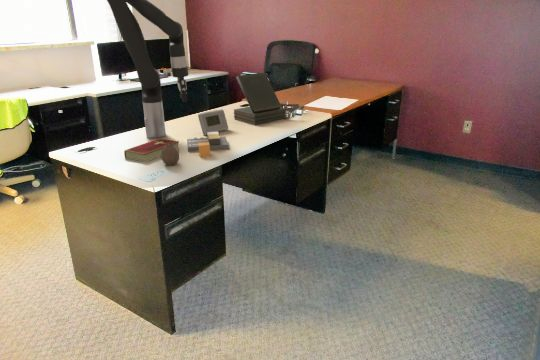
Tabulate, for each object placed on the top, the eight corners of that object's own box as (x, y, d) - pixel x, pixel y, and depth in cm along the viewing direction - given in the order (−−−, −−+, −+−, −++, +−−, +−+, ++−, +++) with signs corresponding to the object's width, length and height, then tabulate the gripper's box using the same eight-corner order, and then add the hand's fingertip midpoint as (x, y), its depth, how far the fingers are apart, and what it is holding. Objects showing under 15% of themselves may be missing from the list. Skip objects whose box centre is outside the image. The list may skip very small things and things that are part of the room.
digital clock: (203, 136, 208) (201, 115, 204) (195, 132, 215) (194, 112, 211) (232, 131, 216) (230, 110, 213) (223, 127, 224) (222, 108, 220)
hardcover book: (125, 159, 177) (123, 149, 176) (160, 146, 194) (159, 137, 193) (145, 163, 172) (144, 153, 170) (179, 149, 189) (178, 140, 187)
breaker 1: (218, 137, 197) (217, 131, 195) (219, 140, 192) (218, 134, 191) (207, 138, 196) (207, 132, 195) (208, 141, 191) (207, 134, 190)
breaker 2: (219, 141, 191) (219, 134, 190) (220, 144, 187) (220, 137, 185) (208, 141, 190) (208, 135, 189) (209, 144, 186) (208, 138, 185)
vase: (181, 161, 172) (179, 140, 169) (178, 166, 166) (176, 145, 163) (164, 161, 172) (161, 141, 169) (160, 167, 166) (158, 145, 162)
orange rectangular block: (199, 157, 177) (198, 145, 175) (199, 153, 181) (198, 142, 179) (210, 156, 178) (209, 144, 176) (209, 153, 182) (208, 142, 180)
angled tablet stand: (254, 126, 227) (253, 79, 218) (233, 120, 241) (231, 75, 232) (286, 119, 241) (285, 75, 232) (264, 114, 255) (263, 72, 246)
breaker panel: (187, 151, 184) (187, 146, 183) (187, 143, 197) (186, 137, 196) (228, 148, 187) (228, 143, 186) (225, 140, 200) (225, 135, 199)
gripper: (170, 65, 204) (175, 98, 210) (172, 68, 191) (177, 103, 198) (185, 64, 206) (190, 96, 212) (189, 67, 193) (193, 101, 199)
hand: (184, 100), depth 205 cm, fingers open, 8 cm apart
